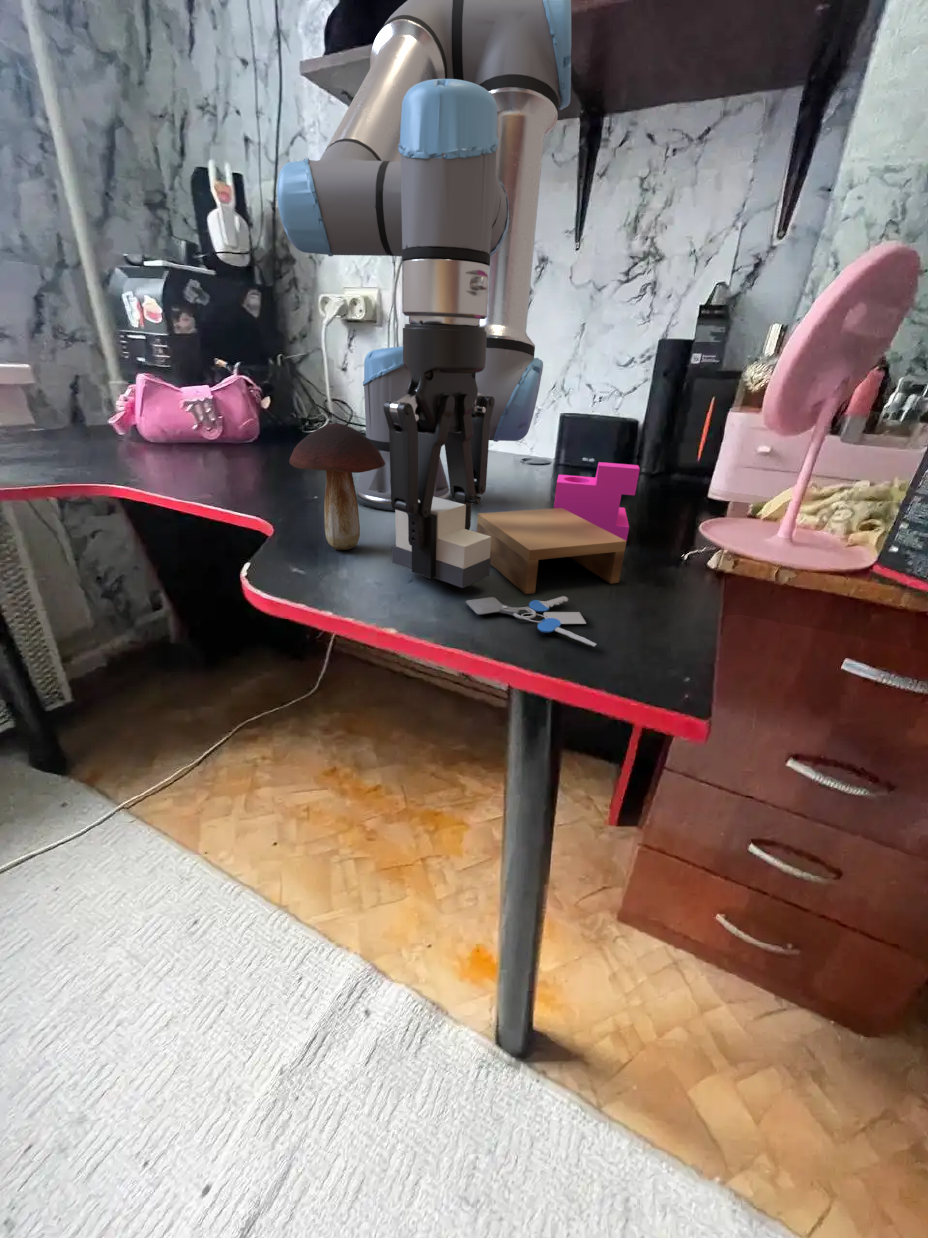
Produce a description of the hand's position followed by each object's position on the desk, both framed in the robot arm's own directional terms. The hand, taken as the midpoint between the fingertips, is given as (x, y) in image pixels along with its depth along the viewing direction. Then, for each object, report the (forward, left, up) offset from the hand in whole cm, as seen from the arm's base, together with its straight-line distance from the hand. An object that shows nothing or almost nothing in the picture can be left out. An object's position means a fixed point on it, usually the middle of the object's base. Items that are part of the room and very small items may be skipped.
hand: (440, 566), depth 59 cm
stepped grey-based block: (0, 0, 0) cm, 0 cm away
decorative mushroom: (-14, -8, -2) cm, 16 cm away
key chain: (+10, +7, -2) cm, 12 cm away
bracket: (-14, +28, -2) cm, 31 cm away
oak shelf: (-2, +14, -2) cm, 14 cm away
